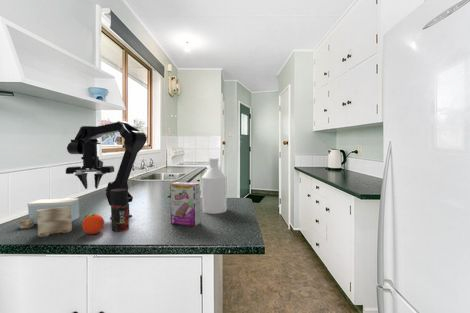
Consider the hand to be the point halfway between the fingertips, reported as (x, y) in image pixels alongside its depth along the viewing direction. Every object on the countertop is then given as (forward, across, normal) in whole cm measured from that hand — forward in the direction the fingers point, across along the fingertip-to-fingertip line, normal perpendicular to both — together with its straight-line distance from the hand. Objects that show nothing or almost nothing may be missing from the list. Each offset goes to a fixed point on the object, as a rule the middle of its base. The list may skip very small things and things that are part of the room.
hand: (91, 188), depth 114 cm
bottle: (+12, -56, 0) cm, 57 cm away
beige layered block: (+12, +3, +23) cm, 26 cm away
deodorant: (+12, -20, +22) cm, 32 cm away
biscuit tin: (+12, +12, +7) cm, 19 cm away
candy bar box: (+12, -44, +18) cm, 49 cm away
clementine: (+12, -11, +25) cm, 30 cm away
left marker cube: (+12, +18, +14) cm, 26 cm away
